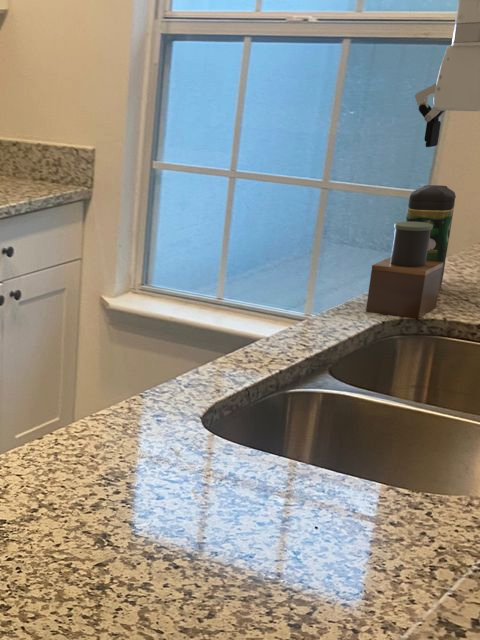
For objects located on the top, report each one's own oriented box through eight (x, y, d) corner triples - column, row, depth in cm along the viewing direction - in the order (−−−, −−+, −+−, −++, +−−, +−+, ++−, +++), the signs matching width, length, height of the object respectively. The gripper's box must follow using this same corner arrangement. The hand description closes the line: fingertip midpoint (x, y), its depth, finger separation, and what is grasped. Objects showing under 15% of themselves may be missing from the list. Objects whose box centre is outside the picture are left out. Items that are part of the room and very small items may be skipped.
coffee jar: (398, 281, 200) (413, 182, 192) (442, 284, 197) (459, 183, 189) (392, 291, 192) (408, 188, 184) (438, 294, 189) (456, 190, 181)
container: (414, 259, 179) (420, 220, 176) (433, 266, 174) (440, 226, 171) (382, 261, 178) (388, 222, 176) (400, 267, 173) (406, 227, 170)
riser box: (384, 301, 185) (391, 256, 182) (436, 308, 180) (443, 262, 177) (365, 311, 179) (372, 265, 176) (418, 318, 174) (425, 270, 170)
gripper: (544, 34, 162) (522, 148, 169) (435, 36, 173) (419, 143, 180) (525, 34, 157) (504, 152, 164) (415, 37, 169) (399, 147, 176)
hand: (459, 147), depth 172 cm, fingers open, 9 cm apart
